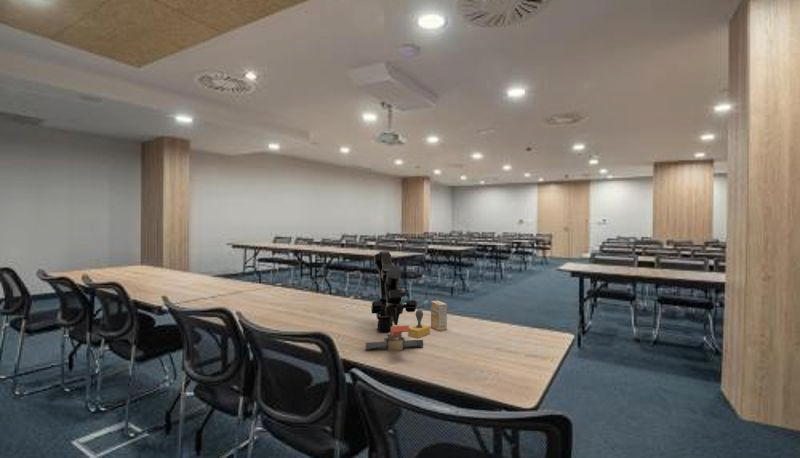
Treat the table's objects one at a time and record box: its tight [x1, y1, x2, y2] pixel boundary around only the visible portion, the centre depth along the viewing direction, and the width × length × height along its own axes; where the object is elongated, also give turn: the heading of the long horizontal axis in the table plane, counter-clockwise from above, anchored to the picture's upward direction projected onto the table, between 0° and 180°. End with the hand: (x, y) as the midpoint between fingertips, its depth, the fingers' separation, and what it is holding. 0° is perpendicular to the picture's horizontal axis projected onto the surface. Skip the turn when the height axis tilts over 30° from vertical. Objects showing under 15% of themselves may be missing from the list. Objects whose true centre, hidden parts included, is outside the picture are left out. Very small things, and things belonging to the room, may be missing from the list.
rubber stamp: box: [407, 309, 431, 339], centre depth 181 cm, size 10×6×12 cm, turn 140°
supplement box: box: [430, 300, 448, 332], centre depth 191 cm, size 8×5×13 cm, turn 25°
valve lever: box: [390, 325, 410, 338], centre depth 155 cm, size 2×7×15 cm
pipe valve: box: [364, 333, 424, 352], centre depth 161 cm, size 5×24×6 cm, turn 101°
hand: (396, 324), depth 157 cm, fingers closed
